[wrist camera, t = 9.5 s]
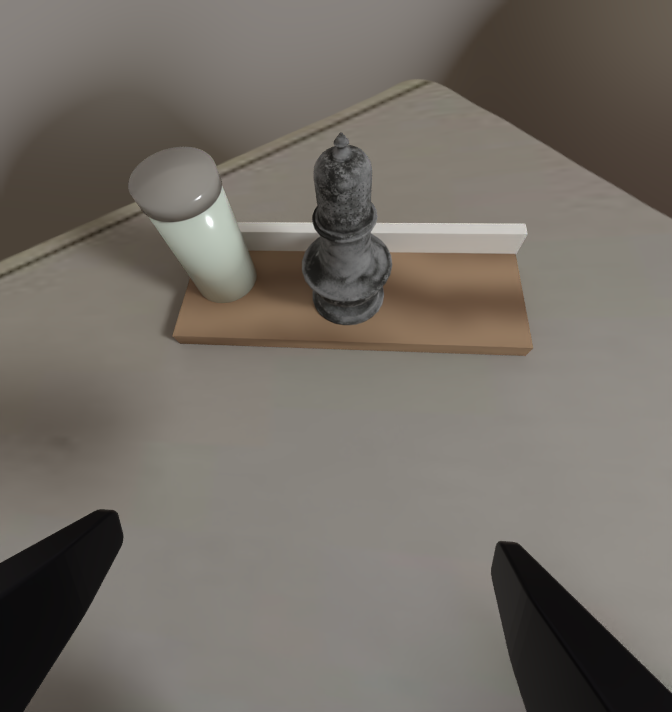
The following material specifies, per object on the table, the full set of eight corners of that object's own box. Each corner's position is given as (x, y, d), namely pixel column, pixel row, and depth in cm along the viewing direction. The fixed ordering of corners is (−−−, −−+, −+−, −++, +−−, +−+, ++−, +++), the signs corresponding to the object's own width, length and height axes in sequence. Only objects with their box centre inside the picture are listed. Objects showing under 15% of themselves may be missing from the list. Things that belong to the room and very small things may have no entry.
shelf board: (525, 355, 24) (533, 348, 23) (180, 343, 27) (172, 335, 25) (507, 254, 28) (513, 243, 27) (206, 250, 30) (201, 240, 29)
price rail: (510, 264, 28) (527, 234, 25) (205, 259, 30) (188, 231, 27) (508, 252, 28) (524, 221, 25) (208, 248, 30) (192, 220, 28)
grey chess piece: (403, 284, 26) (435, 117, 15) (358, 343, 24) (359, 200, 13) (338, 251, 28) (326, 79, 17) (292, 304, 26) (245, 148, 15)
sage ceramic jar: (199, 311, 26) (128, 216, 18) (194, 262, 28) (127, 157, 20) (262, 295, 27) (220, 194, 18) (252, 248, 29) (210, 139, 20)
